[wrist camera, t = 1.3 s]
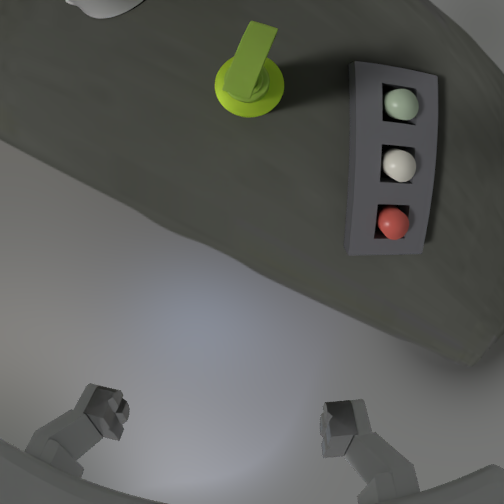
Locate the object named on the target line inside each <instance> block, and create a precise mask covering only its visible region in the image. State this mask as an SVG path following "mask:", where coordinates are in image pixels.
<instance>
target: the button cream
mask: <svg viewBox="0 0 504 504" xmlns="http://www.w3.org/2000/svg"><path fill="white" fill-rule="evenodd" d="M381 168H382V170H383V172H384V173H385V174H386V175H388V176H390V177H391V178H393V179H394V180H396V181H398V182H406V181H408V180H410V179H411V178H412V177H413V176H414V174H415V171H416V162H415V159H414V158H413V156H412V155H411V154H410V153H408V152H405V151H403V150H400V149H397V148H390V149H388V150H386V151H385V152H384V153H383V155H382V157H381Z"/></svg>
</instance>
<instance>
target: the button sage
mask: <svg viewBox="0 0 504 504" xmlns="http://www.w3.org/2000/svg"><path fill="white" fill-rule="evenodd" d="M382 107H383V110H384V111H385V113H386V114H387V115H388V116H389V117H391V118H394V119H401V120H410V119H413V118H414V117H415V116H416V115H417V113H418V109H419V104H418V100H417V98H416V96H415V95H414V94H413V93H412V92H411V91H409V90H407V89H395V90H389V91H387V92H386V93H385V94H384V95H383V98H382Z"/></svg>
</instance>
